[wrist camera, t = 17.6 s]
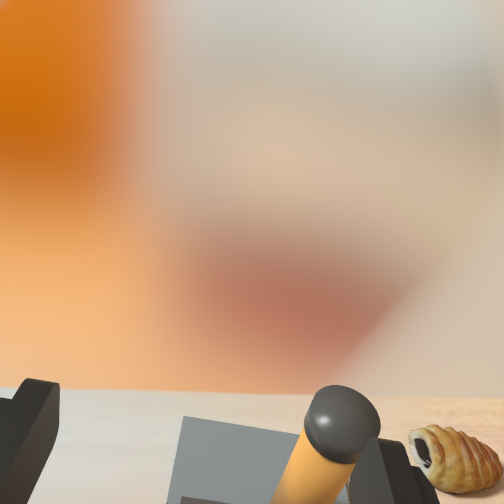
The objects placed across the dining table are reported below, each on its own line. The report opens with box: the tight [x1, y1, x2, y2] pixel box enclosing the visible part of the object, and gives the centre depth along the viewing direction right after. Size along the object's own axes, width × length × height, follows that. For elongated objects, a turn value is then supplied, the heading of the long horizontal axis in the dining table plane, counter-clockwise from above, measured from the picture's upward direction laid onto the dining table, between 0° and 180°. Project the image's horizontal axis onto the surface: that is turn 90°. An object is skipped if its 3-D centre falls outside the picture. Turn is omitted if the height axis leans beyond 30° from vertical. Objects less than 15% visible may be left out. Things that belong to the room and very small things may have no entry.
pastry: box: [409, 425, 503, 494], centre depth 46 cm, size 9×7×4 cm
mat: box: [166, 416, 349, 504], centre depth 41 cm, size 16×9×1 cm, turn 89°
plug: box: [270, 385, 381, 504], centre depth 34 cm, size 5×5×14 cm
